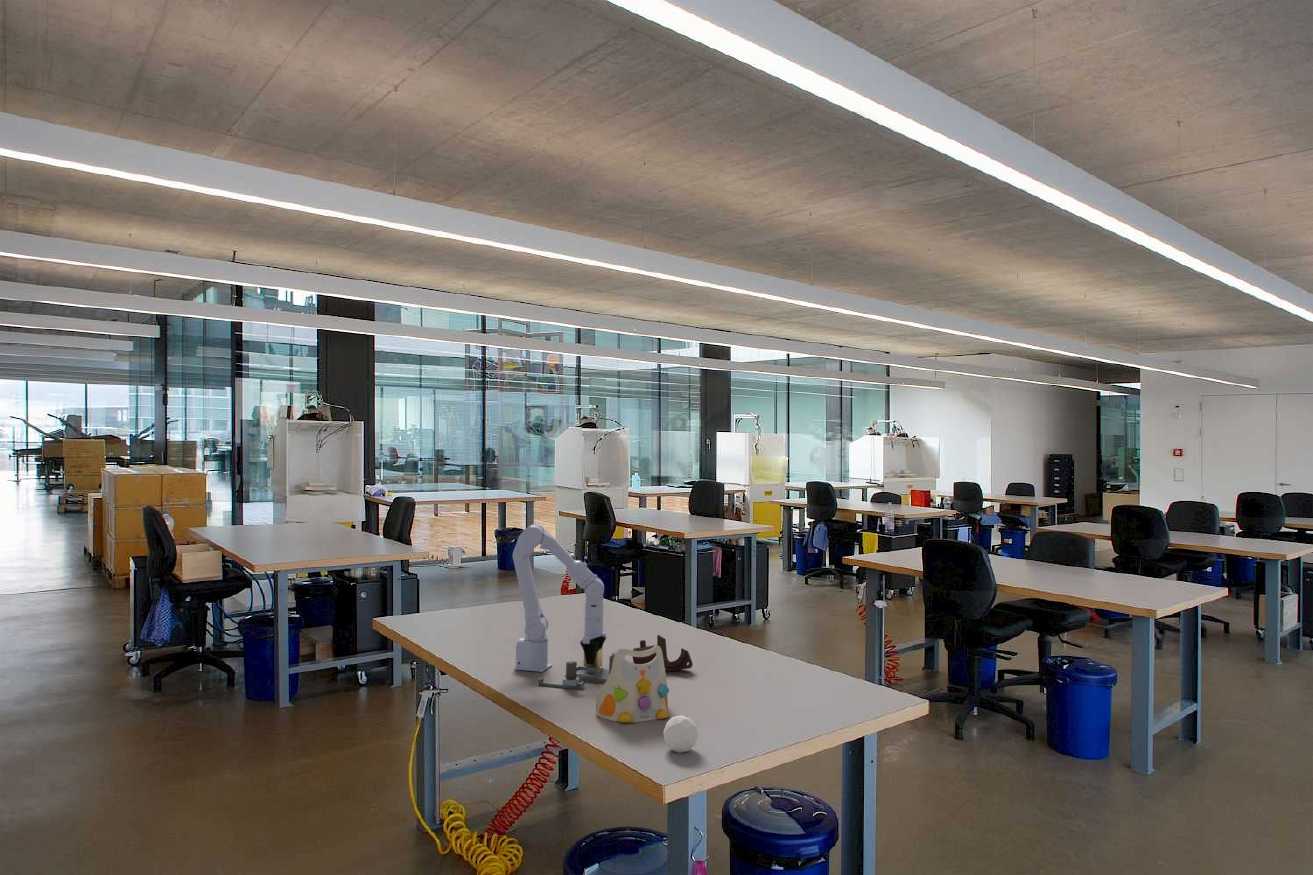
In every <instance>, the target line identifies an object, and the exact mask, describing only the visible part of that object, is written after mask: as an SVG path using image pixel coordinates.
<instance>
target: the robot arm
mask: <svg viewBox="0 0 1313 875" xmlns="http://www.w3.org/2000/svg"><path fill="white" fill-rule="evenodd" d="M538 546H539V549H541V550H546V551H549V552H550V553H552V554H553V556H554V557H556V559H558V560H559V562H561V563H562V564H563V565H564V566H565V567H566V570H567V571H566V573H567V575H568V576H569V577H570V578H571V579H572V581H573V582H575V583H576V585H578V586H579V588H581V589H583V590H584V594H585V604H584V631H583V636H582V639H581V640H580V641H579V643H580V646H581V648H582V650H583V655H584V654H585V658H586V663H587V664H592V665H593V664H594V661H595V654H596V650H597V648H602V649H603V647H604V646H603V645H604V644H605V641H606V639H607V632H605V627H604V602H603V601H604V593H605V584H604V582H603V581H602V579H601V578H599V577H598V575H597V574H594V573H593V572H592V571H591V570H590V569H589V568H588V567H587V565H588V564H587V563H586V562H585V561H583V562H582V560H576V559H574V558H573V557H572V555H571V554H569V552H568V551H567V550H566V549H565V548H564V547H563V546H562V545H561V543H560V542H558V540H557V539H556V538H555V537H554V535H552V534H551V533H550V532H549V531H547V530H545V528H544V527H543V526H542V525H541V524H539V523H538V524H537V523H533V524H530V525H529V526H528V527H526V528H525V529H523V531H522V532H521V533H520V535H519V536H518V538H517V541H516V544H515V546H514V548H513V552H512V561H513V564H514V570H515V573H516V578H517V582H518V587H519V591H520V596H521V600H522V604H523V610H524V620H525V625H524V637H520V638H519V639H518V640H517V642H516V646H515V666H514V668H513V669H514V670H516V671H517V670H519V671H528V672H529V671H530V672H539V673H543V672H544V671H546V670H548V669H549V668H550V667H552V666H553V664H552V663H548V662H549V661H548V659H549V657H548V656H549V654H548V653H549V637H548V635H547V633H546V632H547V630H548V629H549V628H548V627H549V621H548V619H547V618H546V616H545V615H544V613H543V609H542V607H541V604H540V600H539V594H538V591H537V588H536V587H537V586H536V581H535V578H534V574H533V569H532V564H531V561H530V556H531V554H532V552H533V551H534V550H535V548H537V547H538Z"/></svg>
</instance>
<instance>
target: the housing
mask: <svg viewBox="0 0 1313 875" xmlns="http://www.w3.org/2000/svg"><path fill="white" fill-rule="evenodd" d="M583 666H587V667H598V668H602V667H603V647H602V648H597V650H596V654H595V661H594V664H593V665H592V664H587V663H586V658H585V654H584V653H583Z"/></svg>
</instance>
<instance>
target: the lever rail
mask: <svg viewBox="0 0 1313 875" xmlns="http://www.w3.org/2000/svg"><path fill="white" fill-rule="evenodd" d="M562 684H563V681H562V682H561V681H552V680H544V677H541V678H539V679H538V686H540V687H549V688H558V689H559V688H562V689H573V690H579V689H580V690H582V689H584V688H585V682H583V681H580V683H579V684H578V685H576V686H570V685H562Z"/></svg>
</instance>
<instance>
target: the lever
mask: <svg viewBox="0 0 1313 875" xmlns="http://www.w3.org/2000/svg"><path fill="white" fill-rule="evenodd" d="M577 666H578V662H577V661H574V660H569V661H566V662H565V675H566V677H565V676H564V678H563V679H562V682H563V684H562V685H570V686H576V685H578V684H580V683H581V681H580V678H578V677H577Z"/></svg>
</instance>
